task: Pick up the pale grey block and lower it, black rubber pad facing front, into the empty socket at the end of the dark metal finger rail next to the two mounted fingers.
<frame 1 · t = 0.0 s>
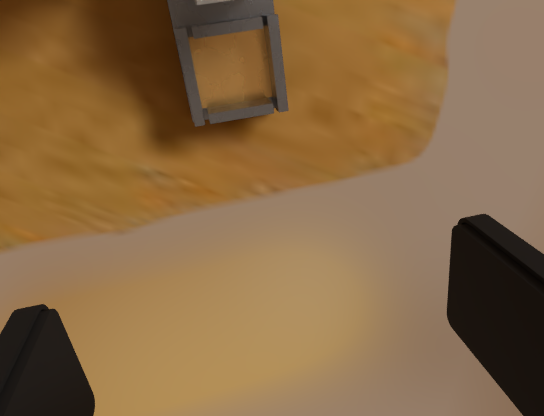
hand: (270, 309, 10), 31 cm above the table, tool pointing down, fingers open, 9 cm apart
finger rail: (219, 1, 35), on the table
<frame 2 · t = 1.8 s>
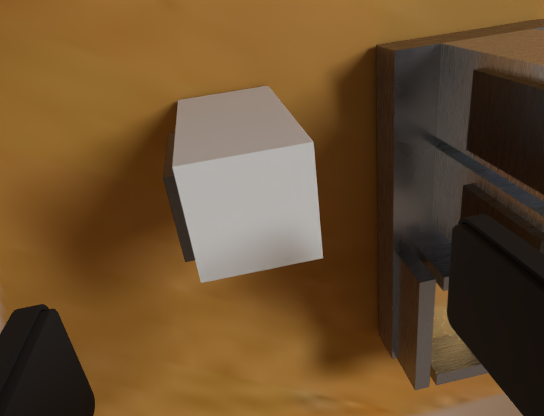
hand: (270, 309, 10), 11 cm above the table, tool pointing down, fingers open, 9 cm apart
pale grey block: (231, 136, 20), on the table
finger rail: (448, 198, 24), on the table
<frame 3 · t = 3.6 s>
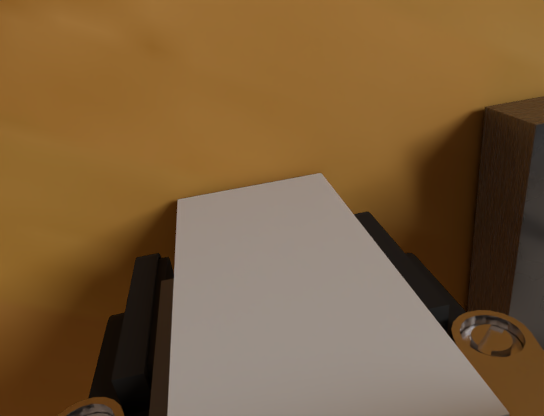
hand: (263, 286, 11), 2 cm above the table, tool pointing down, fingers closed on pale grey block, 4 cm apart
pale grey block: (260, 247, 13), on the table, touching gripper
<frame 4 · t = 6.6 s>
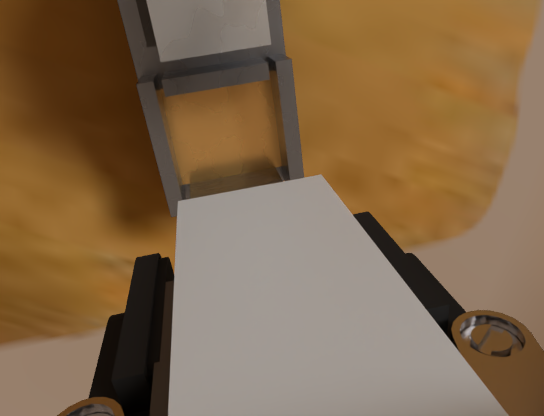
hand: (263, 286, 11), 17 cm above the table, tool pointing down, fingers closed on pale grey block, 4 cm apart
pale grey block: (260, 249, 13), point 16 cm above the table, touching gripper
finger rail: (205, 34, 25), on the table
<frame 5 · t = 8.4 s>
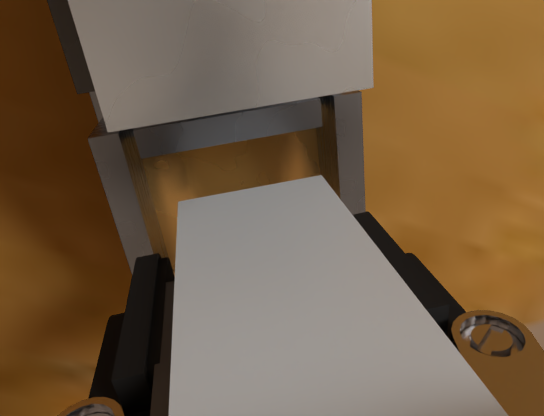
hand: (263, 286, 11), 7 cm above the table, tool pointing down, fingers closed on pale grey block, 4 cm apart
pale grey block: (260, 249, 13), point 5 cm above the table, touching gripper
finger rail: (211, 45, 15), on the table
when the fingers open (5 cm above the table, at t = 9.6 s): pale grey block drops 1 cm, resting on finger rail.
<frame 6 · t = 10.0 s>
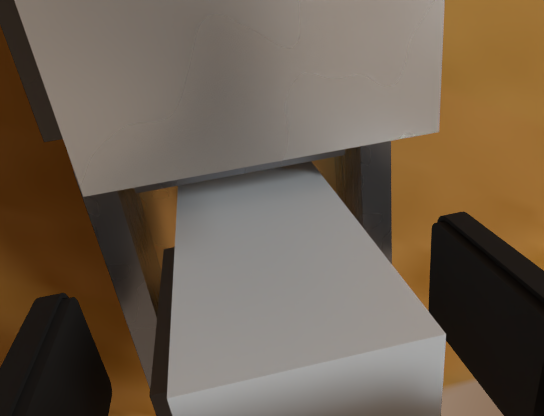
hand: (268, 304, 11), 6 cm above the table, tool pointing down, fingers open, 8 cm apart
pale grey block: (253, 227, 14), point 2 cm above the table, touching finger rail
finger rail: (215, 59, 14), on the table
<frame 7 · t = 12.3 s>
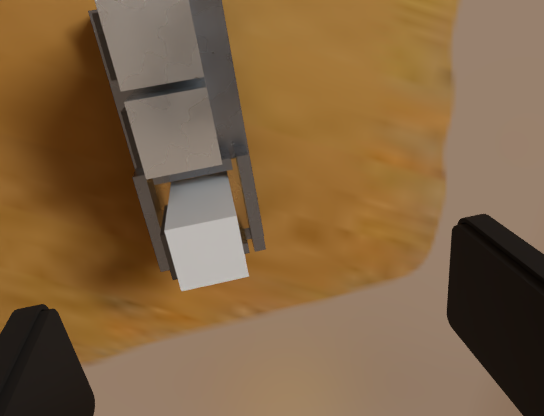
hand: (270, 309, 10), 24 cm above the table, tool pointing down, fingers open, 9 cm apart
pale grey block: (204, 201, 32), point 2 cm above the table, touching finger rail
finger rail: (187, 129, 32), on the table
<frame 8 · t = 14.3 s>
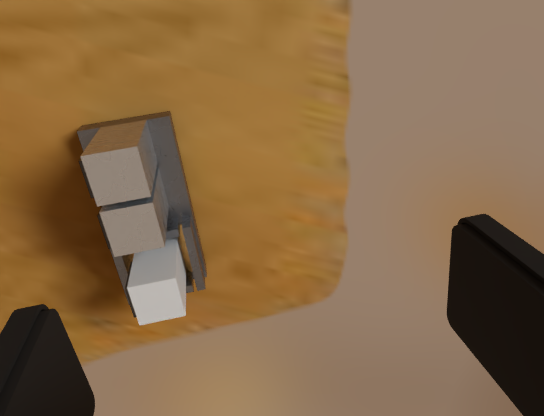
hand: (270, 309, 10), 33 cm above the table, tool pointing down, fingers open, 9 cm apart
pale grey block: (162, 253, 44), point 2 cm above the table, touching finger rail
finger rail: (149, 201, 44), on the table
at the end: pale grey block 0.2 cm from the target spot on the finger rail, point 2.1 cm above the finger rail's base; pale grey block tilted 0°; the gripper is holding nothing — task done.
